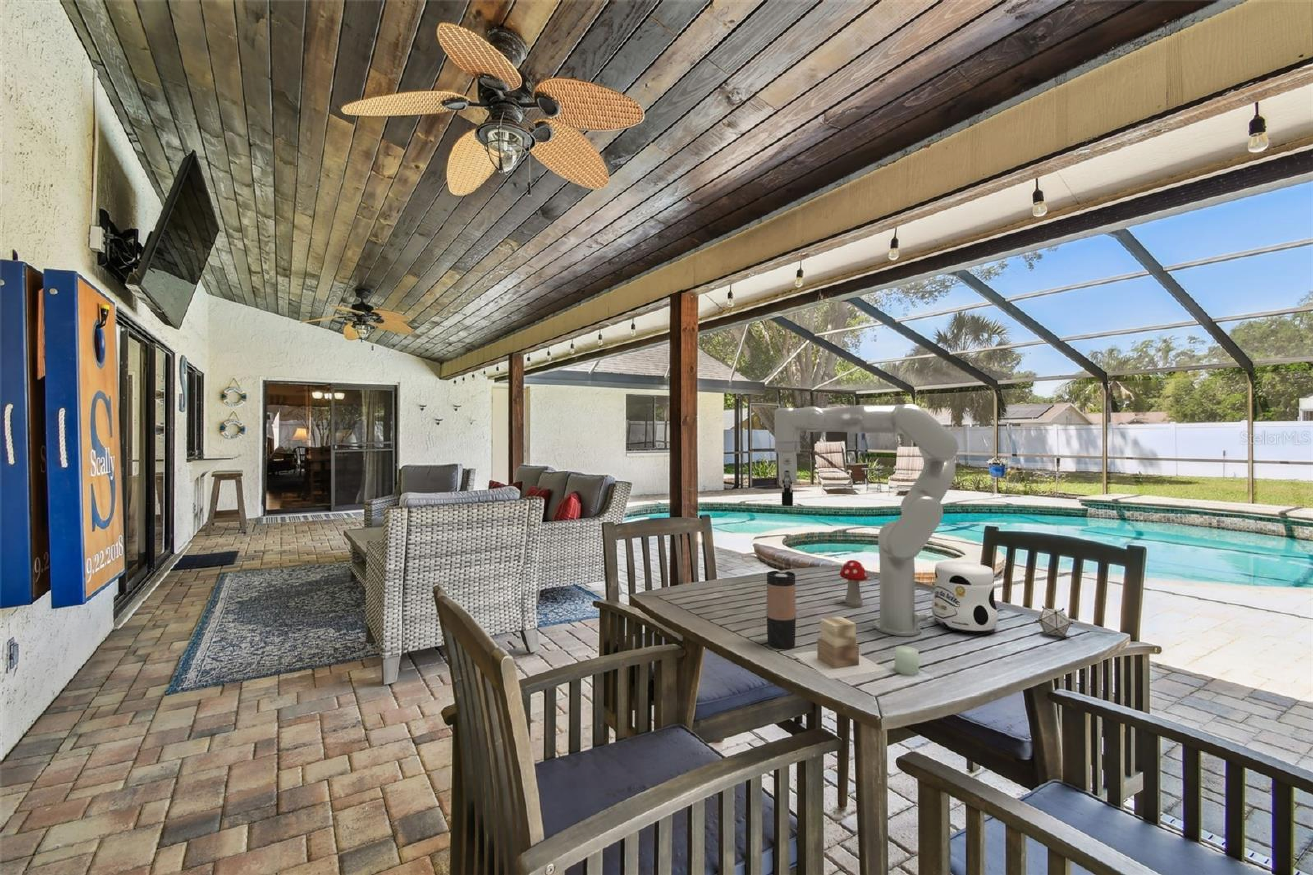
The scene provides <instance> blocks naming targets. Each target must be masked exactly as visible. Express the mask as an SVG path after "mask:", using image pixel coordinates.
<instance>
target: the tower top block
mask: <svg viewBox="0 0 1313 875" xmlns="http://www.w3.org/2000/svg"><path fill="white" fill-rule="evenodd" d="M819 624H820V625H819V628H820V629H819V631H820V632H819V633H820V634H819V638H820V639H821V640H823V641H825V642H827V643H829V644H830V645H832V646H834V647H839V646H846V645H853V644H856V643H857V642H856V641H857V636H856V635H857V632H856V630H857V628H856V626H857V624H856V623H855V622H853V621H851V620H849V619H847V618H844V617H843V616H833V617H826V618H820V620H819Z"/></svg>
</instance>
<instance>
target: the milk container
mask: <svg viewBox="0 0 1313 875" xmlns="http://www.w3.org/2000/svg"><path fill="white" fill-rule="evenodd" d="M934 574H935V577H934V595H933V599H932V603H931V613H932V618H933V620H934V622H936V623H937V624H938V625H939V626H940V627H941V626H942V627H945V628H946V629H948V630H952V631H953V630H954V631H956V632H963V633H970V634H971V633H972V634H977V633H978V634H979V633H983V634H984V633H988V632H992V631H994V629H996V628H997V625H998V619H999V612H998V609H997V605H996V602H995V576H994V575H995V574H994V570H993V568H992V567H990V566H987V565H984V564H979V563H974V562H967V561H942V562H941V561H940V562H938V563H935V568H934Z"/></svg>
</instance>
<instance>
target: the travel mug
mask: <svg viewBox="0 0 1313 875" xmlns="http://www.w3.org/2000/svg"><path fill="white" fill-rule="evenodd" d="M796 596H797V595H796V573H794V572H793V571H785V572H779V571H778V570H771V571H768V572H766V631H767V632H766V635H767V645H768V646H769V647H770V648H772V649H776V650H783V651H784V650H792V649H794V648H795V646H796V624H797V622H796V621H797V619H796V617H797V616H796V614H797V613H796V612H797V611H796V610H797V607H796V606H797V605H796V602H797V601H796Z"/></svg>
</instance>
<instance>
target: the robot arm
mask: <svg viewBox="0 0 1313 875" xmlns="http://www.w3.org/2000/svg"><path fill="white" fill-rule="evenodd" d="M800 431H807V432H810V433H811V432H812V433H814V432H815V433H818V432H821V433H824V432H827V433H828V432H831V433H832V432H833V433H834V432H837V433H838V432H839V433H840V432H841V433H851V434H894V435H895V434H897V435H898V434H899V435H900V434H904V435H905V436H906V437H907V438H909V440H911V441H912V442H913V443H914V444H915V445H917V446H918V451H919V453H920V455H921V456H922V460H923V467H922V469H921V471H920V473H919V475H918V477H917V479H916V480H915V482H913V485H912V486H911V487H910V489H909V491H908V492H907V493H906V495H905V496H904V497H903V499H902V500H901V503H900V512H901V514H900V516H899V517H898V519H897V520H893V521H888V522H887V523H885V524H884V525H882V526H881V528H880V530H879V532H878V537H877V539H878V543H877V544H878V554H879V558H878V559H879V619H877V620H875V621H874V625H873V627H874V628H875V629H876V631H879V632H880V633H884V634H887V635H890V636H891V635H892V636H898V637H901V636H902V637H912V636H918V635H919V634H921V632H922V631H921V630H922V628H921V626H920V625H919V624H920V622H927V621H928V620H929V619H928V618H929V616H928V615H927V614H917V613H916V612H915V611H916V610H915V609H916V605H915V604H916V597H915V596H916V594H915V593H916V592H915V591H916V590H915V588H916V585H915V581H916V580H915V579H916V576H915V575H916V569H915V568H916V567H915V566H916V565H915V564H916V563H915V558H916V557H917V555H919V553H921V551H922V550H923V549H924V547H925V545H927V543H928V541H929V540H930V538H931V537H932V536H933V534H934V533H935V532H936V529H937V528H938V526H939V525H940V524H941V521H942V519H943V515H944V508H943V505H942V503H941V502H942V500H943V498H944V497H945V495H946V493H947V492H948V491H949V489H950V488H951V486H952V485H953V484H952V483H953V482H954V478H955V475H956V461H955V456H956V455H957V454H958V452H959V448H960V447H959V442H958V439H957V438H956V436H955V435H954V434H953V433H952V432H951V431H950V430H949V429H947V428H946V427H945V426H944V425H943V424H941V423H940V422H939V421H938V420H937V419H935V418H934V417H933V416H932V415H931V414H929V413H928V412H927V411H926V410H925V409H924V408H922V407H921V406H920V405H918V404H914V403H905V404H858V405H852V406H847V407H846V406H845V407H819V406H815V405H813V406H805V407H800V408H799V407H798V408H796V407H778V408H776V409H775V411H774V454H778V474H779V482H780V485H781V486H782V491H781V505H782V507H793V506H794V490H793V485H794V486H797V485H798V465H797V464H798V461H797V460H798V458H797V454H800V451H801V443H800V442H801V440H800V437H801V434H800V433H801V432H800Z"/></svg>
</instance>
